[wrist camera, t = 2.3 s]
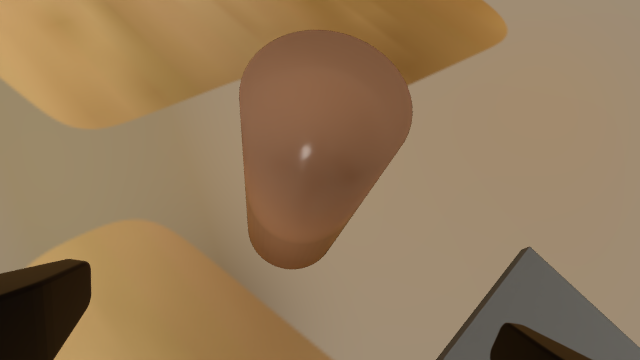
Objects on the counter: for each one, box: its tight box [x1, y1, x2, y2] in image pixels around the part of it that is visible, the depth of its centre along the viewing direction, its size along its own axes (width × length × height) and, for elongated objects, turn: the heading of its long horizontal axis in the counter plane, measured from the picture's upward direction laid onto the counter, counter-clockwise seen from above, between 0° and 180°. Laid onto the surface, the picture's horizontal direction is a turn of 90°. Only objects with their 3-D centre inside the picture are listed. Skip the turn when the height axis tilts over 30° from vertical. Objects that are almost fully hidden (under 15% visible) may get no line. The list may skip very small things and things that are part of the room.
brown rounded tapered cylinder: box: [239, 30, 412, 269], centre depth 17 cm, size 5×5×12 cm
